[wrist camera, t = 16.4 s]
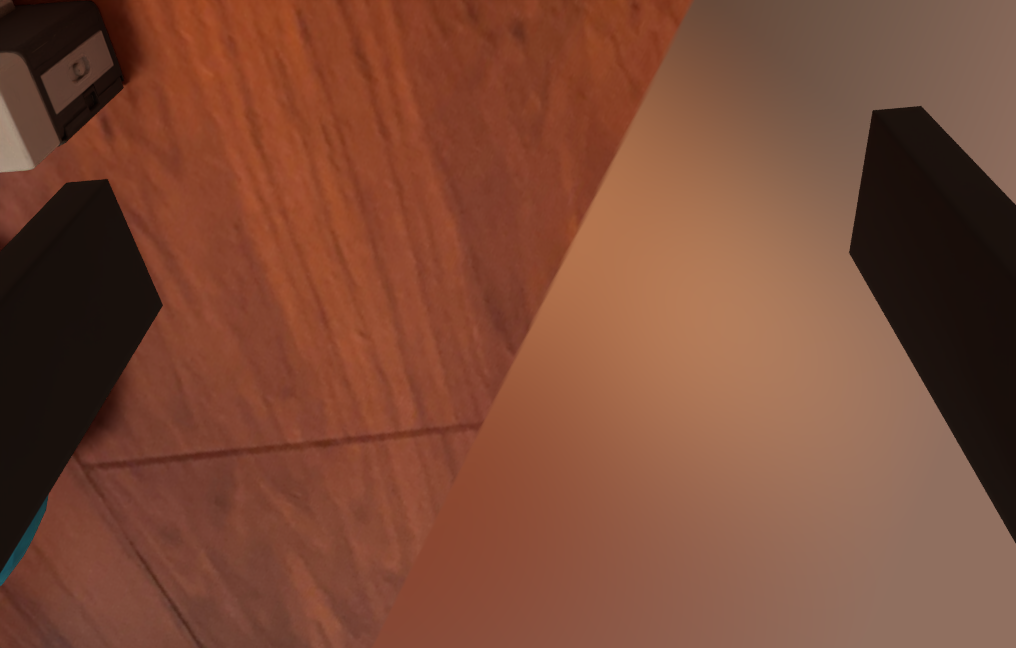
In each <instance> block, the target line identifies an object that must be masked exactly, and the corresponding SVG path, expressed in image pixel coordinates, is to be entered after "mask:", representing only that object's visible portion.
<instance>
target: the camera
mask: <svg viewBox="0 0 1016 648" xmlns="http://www.w3.org/2000/svg"><path fill="white" fill-rule="evenodd" d="M123 81H124V78H123V75H122V72H121V69H120V66H119V63H118V60H117V57H116V55H115V52H114V49H113V46H112V44H111V41H110V38H109V36H108V33H107V30H106V28H105V25H104V23H103V20H102V18H101V15H100V12H99V10H98V8H97V6H96V5H95V4H94V3H93V2H91V1H72V2H59V3H46V4H33V5H20V6H14V4H13V1H12V0H0V172H12V171H26V170H31V169H34V168H35V167H36V166H37V165H38V164H39V163H40V162H41V161H42V160H43V159H45V158H46V157H47V156H48V155H49V154H50V153H51V152H52V151H53V150H54V149H55V148H56V147H58V146H60V145H62V144H64V143H66V142H67V141H68V140H69V139H70V138H71V137H72V136H73V135H74V134H75V133H76V132H77V131H79V130H80V129H81V128H82V127H83V126H84V125H85V124H86V123H87V122H88V121H89V120H90V119H91V118H92V117H93V116H94V115H96V114H97V113H98V112H99V111H100V110H101V109H102V108H103V107H104V106H105V105H106V104H107V103H108V102H109V101H110V100H111V99H113V98H114V97H115V96H116V95H117V94H118V93H119V92H120V91H121V90H122V89H123V84H122V82H123Z"/></svg>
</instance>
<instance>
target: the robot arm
mask: <svg viewBox="0 0 1016 648" xmlns="http://www.w3.org/2000/svg"><path fill="white" fill-rule="evenodd" d="M849 253H850V255H851V257H852V259H853V260H854V262H855V264H856V266H857V267H858V269H859V271H860V273H861V274H862V276H863V278H864V280H865V281H866V283H867V285H868V286H869V288H870V290H871V292H872V294H873V295H874V297H875V299H876V301H877V302H878V304H879V306H880V308H881V309H882V311H883V313H884V315H885V316H886V318H887V319H888V322H889V323H890V325H891V327H892V328H893V330H894V332H895V334H896V335H897V337H898V339H899V340H900V342H901V344H902V346H903V348H904V349H905V351H906V353H907V354H908V356H909V358H910V360H911V362H912V363H913V365H914V367H915V369H916V370H917V372H918V374H919V376H920V377H921V379H922V381H923V382H924V384H925V386H926V388H927V390H928V391H929V393H930V395H931V396H932V398H933V400H934V402H935V403H936V405H937V407H938V409H939V410H940V412H941V414H942V416H943V417H944V419H945V421H946V422H947V424H948V426H949V428H950V429H951V431H952V433H953V435H954V437H955V438H956V440H957V442H958V444H959V445H960V447H961V449H962V451H963V452H964V454H965V456H966V458H967V459H968V461H969V463H970V464H971V466H972V468H973V470H974V471H975V473H976V475H977V477H978V478H979V480H980V482H981V484H982V485H983V487H984V489H985V491H986V492H987V494H988V496H989V498H990V499H991V501H992V503H993V504H994V506H995V508H996V510H997V512H998V513H999V515H1000V517H1001V519H1002V520H1003V522H1004V524H1005V526H1006V527H1007V529H1008V531H1009V533H1010V534H1011V536H1012V538H1013V539H1014V541H1015V543H1016V205H1015V204H1014V203H1013V202H1012V201H1011V200H1010V199H1009V198H1008V197H1007V196H1006V194H1005V193H1004V192H1002V190H1001V189H1000V188H999V187H998V186H997V185H996V184H995V183H994V182H993V181H992V180H991V179H990V178H989V177H988V176H987V175H986V173H985V172H984V171H983V170H982V169H981V168H980V167H979V166H978V165H977V164H976V163H975V162H974V161H973V160H972V159H971V158H970V157H969V156H968V155H967V154H966V153H965V152H964V151H963V150H962V149H961V147H960V146H959V145H958V144H957V143H956V142H955V141H954V140H953V139H952V138H951V137H950V136H949V135H948V134H947V133H946V132H945V131H944V130H943V129H942V127H940V125H939V124H938V123H937V122H936V121H935V120H934V119H933V118H932V117H931V116H930V115H929V114H928V113H927V112H926V111H925V110H924V109H923V108H922V107H921V106H917V107H907V108H895V109H884V110H873V112H872V118H871V124H870V130H869V136H868V143H867V148H866V154H865V160H864V166H863V172H862V178H861V185H860V190H859V197H858V202H857V209H856V216H855V221H854V227H853V233H852V239H851V245H850V251H849ZM162 306H163V304H162V302H161V300H160V298H159V295H158V293H157V291H156V288H155V286H154V284H153V282H152V279H151V277H150V275H149V273H148V270H147V268H146V266H145V263H144V261H143V259H142V257H141V254H140V252H139V250H138V247H137V245H136V243H135V241H134V238H133V236H132V234H131V232H130V229H129V227H128V225H127V222H126V220H125V218H124V216H123V213H122V211H121V209H120V206H119V204H118V202H117V200H116V197H115V195H114V193H113V191H112V188H111V186H110V184H109V181H108V179H103V180H92V181H81V182H70V183H66V184H65V185H64V186H63V187H62V188H61V189H60V190H59V191H58V192H57V193H56V194H55V195H54V196H53V197H52V198H51V199H50V200H49V201H48V202H47V203H46V205H45V206H44V207H43V208H42V209H41V210H40V211H39V212H38V213H37V214H36V215H35V216H34V217H33V218H32V219H31V220H30V221H29V222H28V223H27V224H26V225H25V226H24V227H23V229H22V230H21V231H20V232H19V233H18V234H17V235H16V236H15V237H14V238H13V239H12V240H11V241H10V242H9V243H8V244H7V245H6V246H5V247H4V248H3V249H2V250H1V251H0V573H1V572H2V570H3V568H4V567H5V565H6V563H7V562H8V560H9V558H10V557H11V555H12V553H13V552H14V550H15V548H16V547H17V545H18V544H19V542H20V540H21V539H22V537H23V535H24V534H25V532H26V530H27V529H28V527H29V525H30V524H31V522H32V520H33V519H34V517H35V515H36V514H37V512H38V511H39V509H40V507H41V506H42V504H43V502H44V501H45V499H46V497H47V496H48V494H49V492H50V491H51V489H52V487H53V486H54V484H55V482H56V481H57V479H58V478H59V476H60V474H61V473H62V471H63V469H64V468H65V466H66V464H67V463H68V461H69V459H70V458H71V456H72V454H73V453H74V451H75V449H76V448H77V446H78V445H79V443H80V441H81V440H82V438H83V436H84V435H85V433H86V431H87V430H88V428H89V426H90V425H91V423H92V421H93V420H94V418H95V416H96V415H97V413H98V412H99V410H100V408H101V407H102V405H103V403H104V402H105V400H106V398H107V397H108V395H109V393H110V392H111V390H112V388H113V387H114V385H115V383H116V382H117V380H118V379H119V377H120V375H121V374H122V372H123V370H124V369H125V367H126V365H127V364H128V362H129V360H130V359H131V357H132V355H133V354H134V352H135V350H136V349H137V347H138V345H139V344H140V342H141V341H142V339H143V337H144V336H145V334H146V332H147V331H148V329H149V327H150V326H151V324H152V322H153V321H154V319H155V317H156V316H157V314H158V312H159V311H160V309H161V308H162Z"/></svg>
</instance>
